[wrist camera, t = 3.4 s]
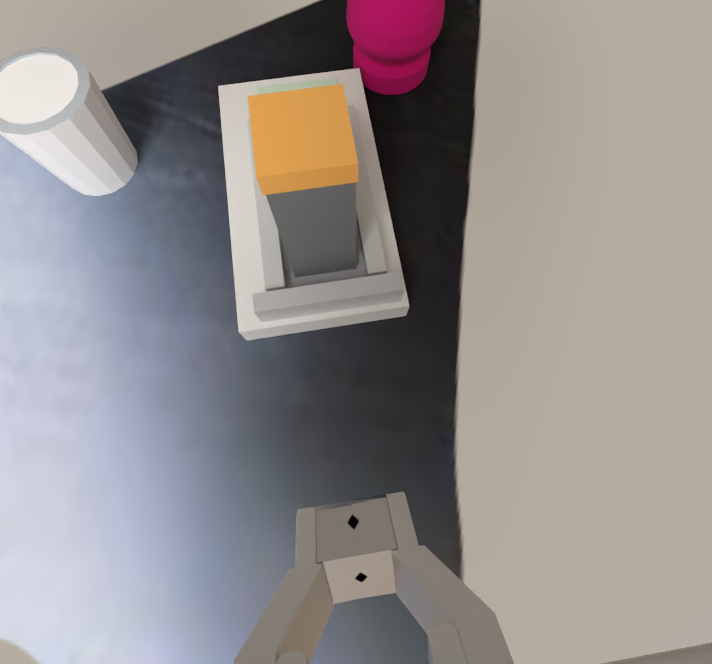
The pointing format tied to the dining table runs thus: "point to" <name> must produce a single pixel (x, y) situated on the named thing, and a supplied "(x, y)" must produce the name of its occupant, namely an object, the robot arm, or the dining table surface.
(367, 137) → the white slider switch base
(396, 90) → the pepper mill
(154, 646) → the dining table surface
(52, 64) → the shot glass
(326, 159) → the plate
